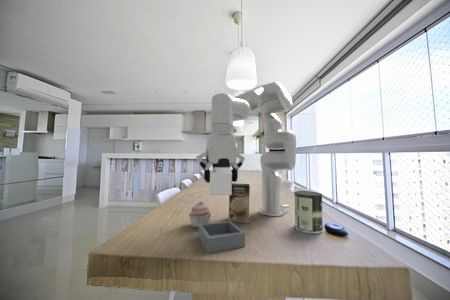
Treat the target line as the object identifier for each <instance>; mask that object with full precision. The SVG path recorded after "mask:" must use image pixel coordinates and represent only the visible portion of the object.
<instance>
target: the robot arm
mask: <svg viewBox="0 0 450 300" xmlns="http://www.w3.org/2000/svg"><path fill="white" fill-rule="evenodd" d="M210 107H211V108H210V109H211V111H210V113H211V115H210V119H211V120H210V134H208V136H207V140H206V148H205V151H204V152H202V153H200V154H198V155H196V157H195V159H196V161H197V163H198V165H199V166H200V167H201V168H202V169H203V180H204V181H205V182H206V183H209V184H210V173H211V170H210V168H211V167H212V164H217V163H218V160H219V159H222V158H226V159H229V163H230V168H232V169H230V171H231V172H232V183H237V181H238V175H239V172H238V171H239V170H240V168H241V167H242V165H243V163H245V160H246V158H245V157H244V156H243V155H241V154H240V153H238V150H237V148H238V147H237V142H236V137H235V135H234V134H235V133H237V129H236V128H234V122H236V121H237V122H238V121H242V120H243V121H244V120H246V119H248V118H249V117H250V116H251V113H252V112H253V111H256V110H257V109H258V111H259V113H260V115H261V116H262V118H263V120H264V123H265V124H264V125H265V128H264V129H265V130H264V147H265V148H266V149H268V150H274V151H265V152H263V153H262V154H261V155H260V160H259V161H260V167H261V178H262V179H261V188H262V189H261V208H259V210H258V213H259V214H261V215H264V216H268V217H282V216H284V215H285V210H284V209H289V208H290V207H289V204H283V203H282V177H281V175H280V174H279V171H292V170H294V168H295V166H296V163H297V162H296V160H297V159H296V158H297V157H296V156H297V136H296V133H295V132H294V131H293V130H289V129H288V130H287V129H286V130H282V129H283V128H282V125H283V123H282V121H281V120H280V118H279V117H278V116H277V115H276V114H279V113H280V114H281V113H286V112H289V111H291V109H292V108H293V101H292V97H291V95H290V94H289V93H288V91H287V90H286V88H285V87H284V85H283V84H281V83H280V81H279V82H278V81H273V82H269V83H265V84H261V85H258V86H256V87H254V88H252V89H250V90H247V91H246V92H243V93H240V94H239V95H236V96H232V95H230V94H229V93H225V92H224V93H216V94H214V95H213V96H212V98H211V105H210ZM275 150H279V151H275ZM280 150H281V151H280ZM282 150H284V151H282ZM203 158H205V163H204V161H203ZM237 160H238V162H237Z"/></svg>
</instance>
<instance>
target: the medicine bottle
mask: <svg viewBox="0 0 450 300" xmlns="http://www.w3.org/2000/svg"><path fill="white" fill-rule="evenodd" d="M211 167H212V171H210V182H209V195H210V196H229V195H232V183H233V181H232V172H231V165H230V163H229V159H226V158H222V159H219V160H218V163H217V164H212V165H211Z"/></svg>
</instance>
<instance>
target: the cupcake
mask: <svg viewBox="0 0 450 300" xmlns="http://www.w3.org/2000/svg"><path fill="white" fill-rule="evenodd" d="M211 216H212V212H210V209H209V207H207V204H206V203H205V202H204V201H201V200H200V201H198V202H197V203H196V204H195V205H193V206H192V207H191V211H190V212H189V214H188V217H189V219H190V222H191V227H192V228H195V229H198V227H199V225H200V224H208V223H209V221H210V218H211Z"/></svg>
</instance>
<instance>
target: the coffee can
mask: <svg viewBox="0 0 450 300" xmlns="http://www.w3.org/2000/svg"><path fill="white" fill-rule="evenodd" d="M293 194H294V228H295V229H296V231H297V230H298V231H300V232H302V233H306V234H316V235H317V234H321V233H323V232H324V230H323V229H324V228H323V227H324V226H323V225H324V224H323V194H322V193H320V192H318V191H317V192H316V191H306V190H297V191H294V192H293Z"/></svg>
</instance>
